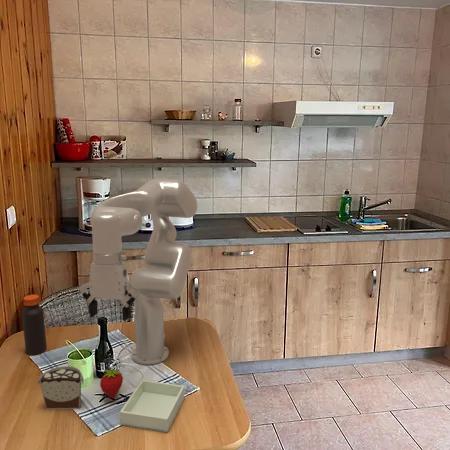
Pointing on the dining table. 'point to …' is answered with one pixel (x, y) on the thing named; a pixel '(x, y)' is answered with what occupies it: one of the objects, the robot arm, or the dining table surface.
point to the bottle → (33, 326)
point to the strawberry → (111, 382)
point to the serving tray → (153, 406)
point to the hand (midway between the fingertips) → (110, 317)
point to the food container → (61, 388)
